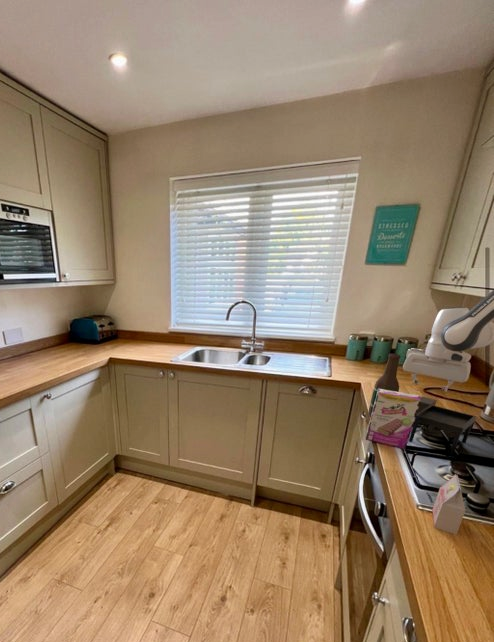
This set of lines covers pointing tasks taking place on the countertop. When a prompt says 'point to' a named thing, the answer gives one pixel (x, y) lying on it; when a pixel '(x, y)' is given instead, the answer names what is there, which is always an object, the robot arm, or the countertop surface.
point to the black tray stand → (445, 422)
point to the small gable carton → (449, 506)
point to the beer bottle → (387, 379)
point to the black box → (425, 403)
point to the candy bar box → (392, 418)
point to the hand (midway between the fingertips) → (429, 387)
